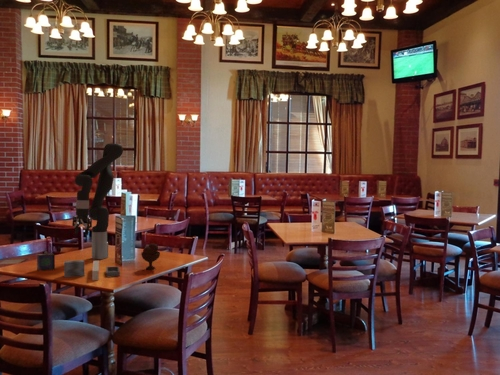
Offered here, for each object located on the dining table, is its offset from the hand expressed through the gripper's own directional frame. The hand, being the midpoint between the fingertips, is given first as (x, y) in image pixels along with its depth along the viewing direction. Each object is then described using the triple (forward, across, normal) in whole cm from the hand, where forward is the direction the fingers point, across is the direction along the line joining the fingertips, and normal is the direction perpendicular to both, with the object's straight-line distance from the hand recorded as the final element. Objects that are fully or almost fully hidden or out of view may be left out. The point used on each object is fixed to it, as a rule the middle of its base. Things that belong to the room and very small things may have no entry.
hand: (81, 234), depth 274 cm
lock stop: (+19, -21, +22) cm, 36 cm away
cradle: (+18, -35, +8) cm, 40 cm away
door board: (+18, -29, +14) cm, 37 cm away
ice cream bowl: (+17, -45, -12) cm, 50 cm away
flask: (+19, +2, +22) cm, 29 cm away
